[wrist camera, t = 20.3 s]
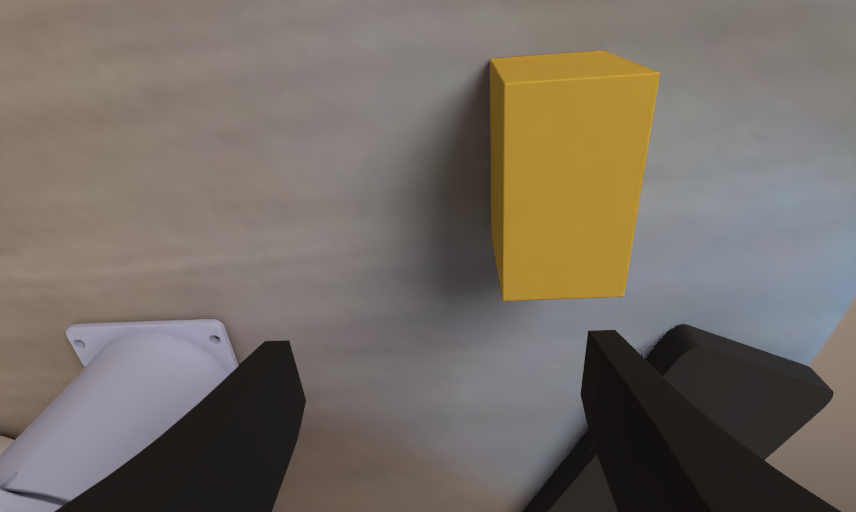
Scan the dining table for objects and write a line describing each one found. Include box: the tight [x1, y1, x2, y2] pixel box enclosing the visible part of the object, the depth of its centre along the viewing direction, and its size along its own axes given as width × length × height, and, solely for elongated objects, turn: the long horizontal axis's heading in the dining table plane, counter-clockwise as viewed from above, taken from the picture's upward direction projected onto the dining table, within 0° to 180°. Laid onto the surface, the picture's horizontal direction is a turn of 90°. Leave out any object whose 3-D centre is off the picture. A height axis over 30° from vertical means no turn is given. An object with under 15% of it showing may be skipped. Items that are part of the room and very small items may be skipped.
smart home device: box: [524, 324, 833, 512], centre depth 26 cm, size 8×2×20 cm
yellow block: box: [490, 50, 660, 301], centre depth 16 cm, size 7×4×5 cm, turn 4°
